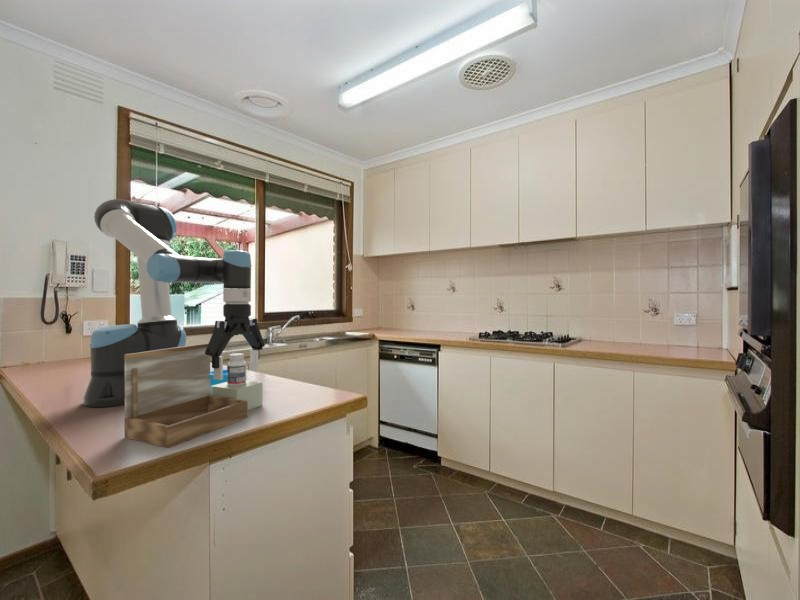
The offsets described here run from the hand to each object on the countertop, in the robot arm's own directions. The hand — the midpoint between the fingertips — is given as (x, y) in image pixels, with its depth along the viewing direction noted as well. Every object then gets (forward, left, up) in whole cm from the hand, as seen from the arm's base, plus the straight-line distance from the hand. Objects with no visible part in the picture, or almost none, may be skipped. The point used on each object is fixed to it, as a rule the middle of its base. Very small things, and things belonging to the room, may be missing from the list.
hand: (237, 375), depth 115 cm
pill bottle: (0, 0, -3) cm, 3 cm away
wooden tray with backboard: (+2, -17, -10) cm, 20 cm away
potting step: (0, 0, -10) cm, 10 cm away
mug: (-13, +8, -10) cm, 18 cm away
